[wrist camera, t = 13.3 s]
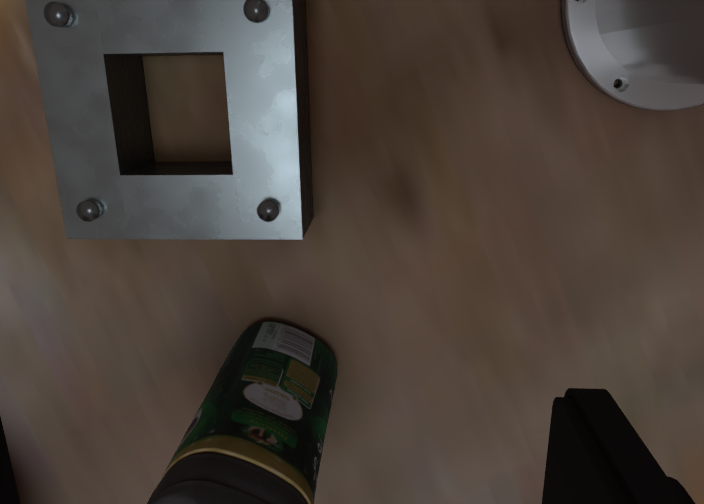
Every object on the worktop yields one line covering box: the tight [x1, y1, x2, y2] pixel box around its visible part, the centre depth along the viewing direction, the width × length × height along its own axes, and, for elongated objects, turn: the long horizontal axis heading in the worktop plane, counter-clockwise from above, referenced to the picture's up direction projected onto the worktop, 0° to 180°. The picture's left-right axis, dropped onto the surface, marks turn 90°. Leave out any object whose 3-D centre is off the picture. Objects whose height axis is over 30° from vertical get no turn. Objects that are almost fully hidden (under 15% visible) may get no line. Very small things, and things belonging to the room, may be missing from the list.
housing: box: [26, 0, 313, 240], centre depth 33 cm, size 14×14×6 cm
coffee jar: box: [147, 321, 337, 504], centre depth 33 cm, size 10×8×19 cm
